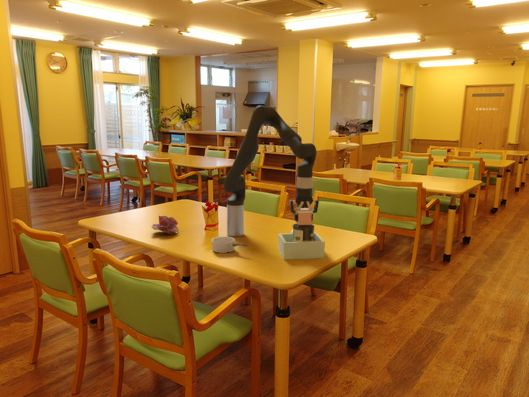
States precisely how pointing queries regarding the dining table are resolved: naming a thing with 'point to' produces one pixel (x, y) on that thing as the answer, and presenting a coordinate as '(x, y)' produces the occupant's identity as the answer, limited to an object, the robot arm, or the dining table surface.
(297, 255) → the tote
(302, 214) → the pink block
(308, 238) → the coffee can
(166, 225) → the flower
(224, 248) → the saucepan
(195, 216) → the dining table surface
